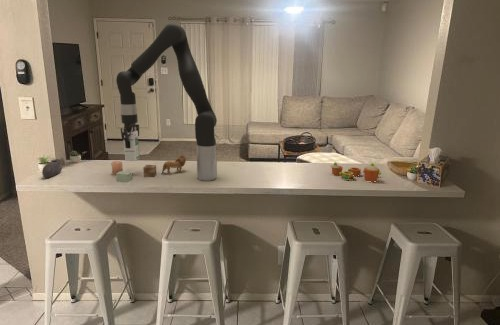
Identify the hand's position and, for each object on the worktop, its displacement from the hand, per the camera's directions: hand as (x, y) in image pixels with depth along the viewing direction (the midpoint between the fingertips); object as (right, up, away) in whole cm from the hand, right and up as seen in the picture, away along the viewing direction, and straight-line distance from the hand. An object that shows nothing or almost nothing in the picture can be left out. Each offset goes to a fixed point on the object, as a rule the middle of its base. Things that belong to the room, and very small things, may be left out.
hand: (131, 146), depth 179 cm
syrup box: (0, -7, +2) cm, 7 cm away
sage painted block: (-1, -17, -6) cm, 18 cm away
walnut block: (+9, -15, +3) cm, 17 cm away
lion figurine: (+20, -13, +9) cm, 25 cm away
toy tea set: (+115, -16, +8) cm, 116 cm away
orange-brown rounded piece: (-9, -14, +4) cm, 17 cm away
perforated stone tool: (-39, -15, -1) cm, 42 cm away
